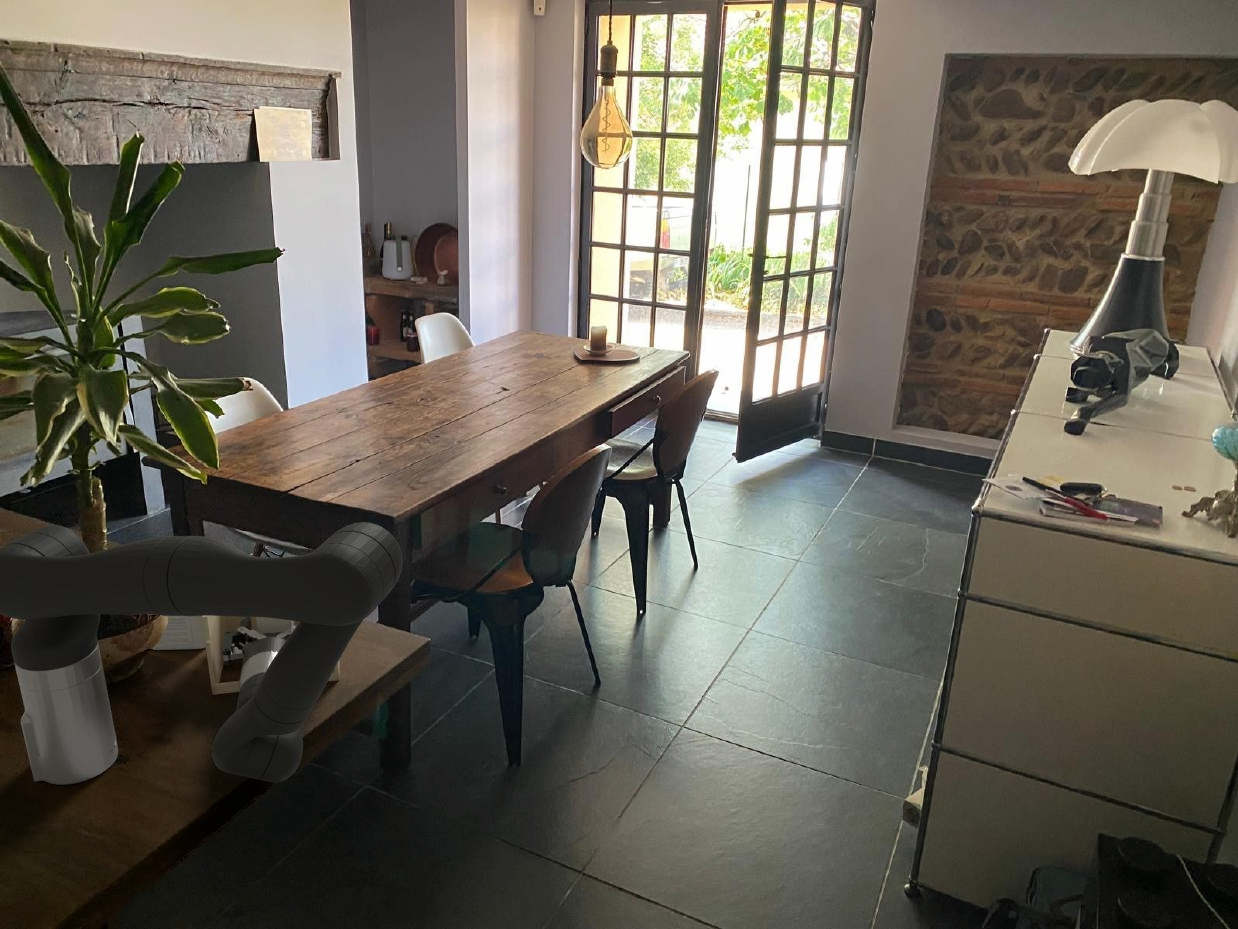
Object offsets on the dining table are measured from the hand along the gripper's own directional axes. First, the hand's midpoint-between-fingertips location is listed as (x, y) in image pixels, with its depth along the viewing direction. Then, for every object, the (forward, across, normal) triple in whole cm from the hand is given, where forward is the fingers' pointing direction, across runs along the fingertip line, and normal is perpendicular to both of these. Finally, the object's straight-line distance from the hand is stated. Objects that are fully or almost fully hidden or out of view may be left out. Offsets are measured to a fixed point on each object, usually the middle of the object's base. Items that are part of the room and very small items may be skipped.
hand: (277, 618), depth 146 cm
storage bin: (-1, 0, +7) cm, 7 cm away
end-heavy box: (-1, 0, +7) cm, 7 cm away
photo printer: (+7, +16, +7) cm, 19 cm away
